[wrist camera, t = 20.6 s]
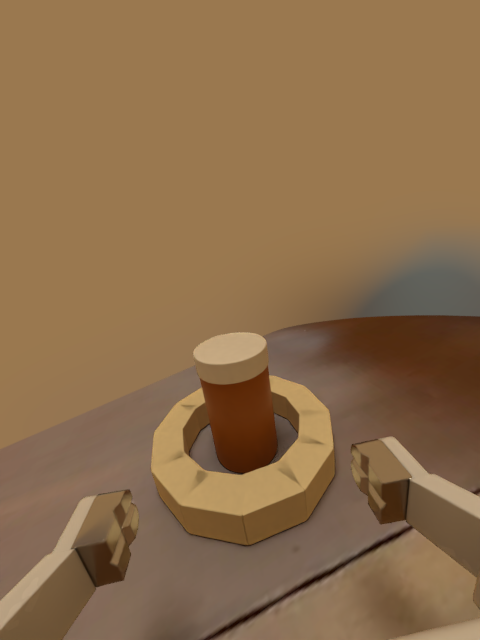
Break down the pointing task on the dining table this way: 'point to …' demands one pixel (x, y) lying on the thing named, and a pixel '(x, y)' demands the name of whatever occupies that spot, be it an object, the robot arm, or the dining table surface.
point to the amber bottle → (238, 399)
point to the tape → (250, 488)
